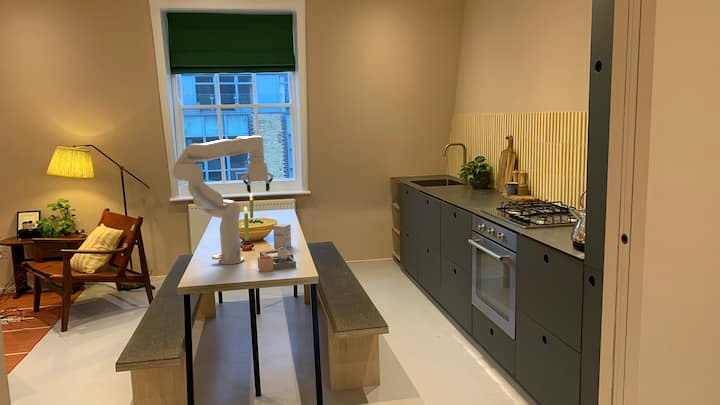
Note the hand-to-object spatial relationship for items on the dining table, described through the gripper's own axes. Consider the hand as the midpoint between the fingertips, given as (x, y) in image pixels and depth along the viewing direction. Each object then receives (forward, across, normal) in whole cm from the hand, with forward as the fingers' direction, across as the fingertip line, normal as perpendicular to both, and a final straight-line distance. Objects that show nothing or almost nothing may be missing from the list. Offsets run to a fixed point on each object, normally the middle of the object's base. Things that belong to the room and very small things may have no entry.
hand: (258, 191), depth 287 cm
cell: (+33, +3, -31) cm, 45 cm away
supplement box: (+34, +14, +8) cm, 37 cm away
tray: (+33, +3, -31) cm, 46 cm away
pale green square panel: (+32, +4, -16) cm, 36 cm away
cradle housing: (+33, +4, -16) cm, 37 cm away
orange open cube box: (+33, -6, -34) cm, 48 cm away
